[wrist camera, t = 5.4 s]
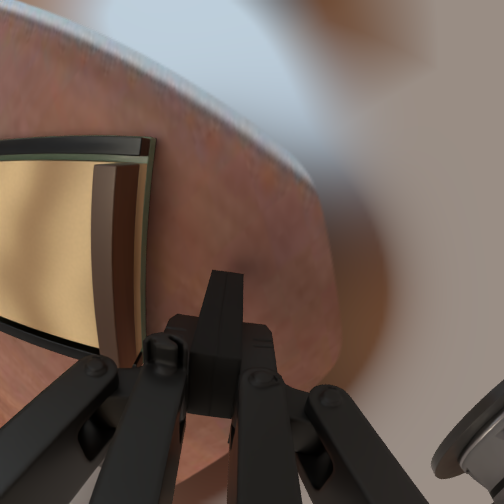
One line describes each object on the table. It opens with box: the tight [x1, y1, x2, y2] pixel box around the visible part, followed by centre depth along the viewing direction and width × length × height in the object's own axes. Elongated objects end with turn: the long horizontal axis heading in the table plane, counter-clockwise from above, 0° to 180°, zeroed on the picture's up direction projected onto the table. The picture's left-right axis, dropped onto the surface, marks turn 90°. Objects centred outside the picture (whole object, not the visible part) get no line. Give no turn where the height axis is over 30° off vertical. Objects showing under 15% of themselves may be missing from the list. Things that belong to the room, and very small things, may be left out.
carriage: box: [0, 160, 147, 368], centre depth 15 cm, size 14×12×4 cm
